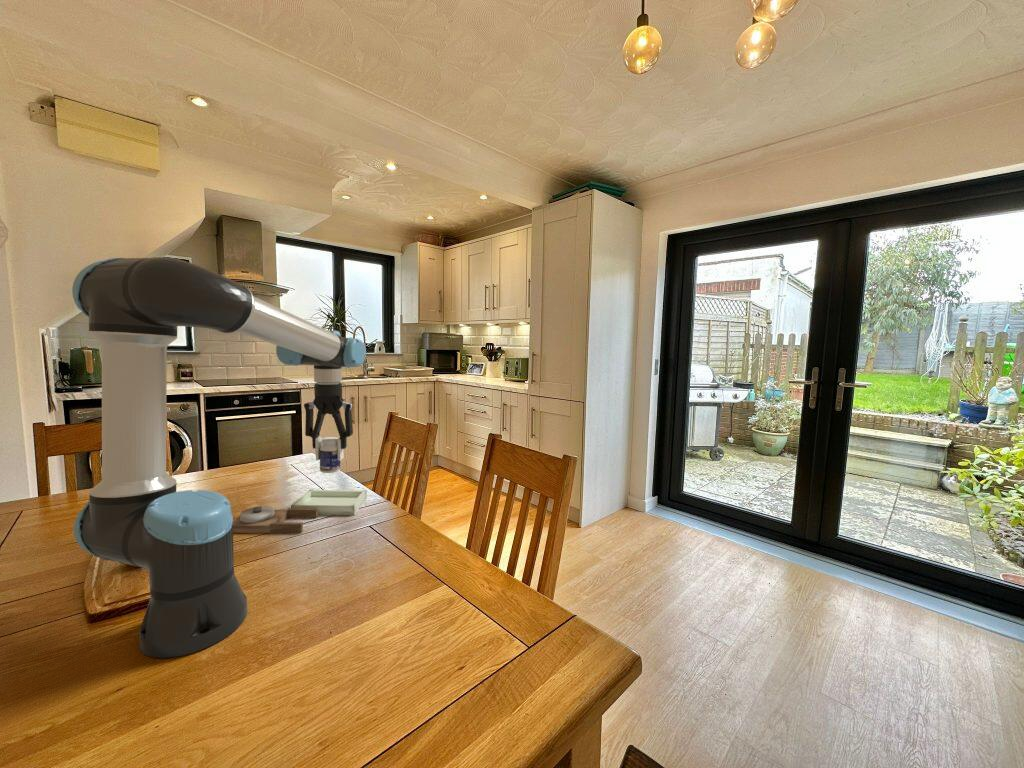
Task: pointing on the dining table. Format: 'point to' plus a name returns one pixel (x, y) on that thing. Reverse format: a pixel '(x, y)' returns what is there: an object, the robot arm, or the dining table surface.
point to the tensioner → (271, 520)
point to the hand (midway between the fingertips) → (330, 458)
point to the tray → (332, 501)
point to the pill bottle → (329, 455)
